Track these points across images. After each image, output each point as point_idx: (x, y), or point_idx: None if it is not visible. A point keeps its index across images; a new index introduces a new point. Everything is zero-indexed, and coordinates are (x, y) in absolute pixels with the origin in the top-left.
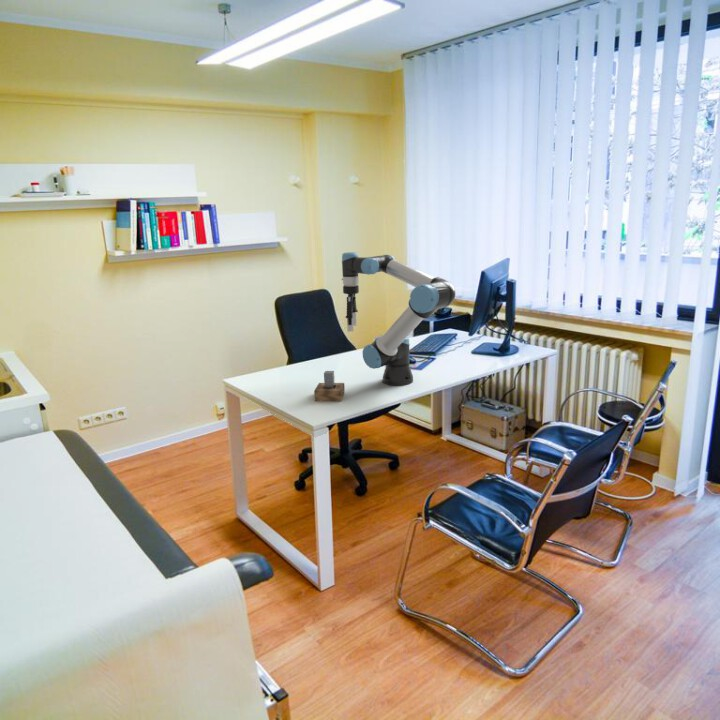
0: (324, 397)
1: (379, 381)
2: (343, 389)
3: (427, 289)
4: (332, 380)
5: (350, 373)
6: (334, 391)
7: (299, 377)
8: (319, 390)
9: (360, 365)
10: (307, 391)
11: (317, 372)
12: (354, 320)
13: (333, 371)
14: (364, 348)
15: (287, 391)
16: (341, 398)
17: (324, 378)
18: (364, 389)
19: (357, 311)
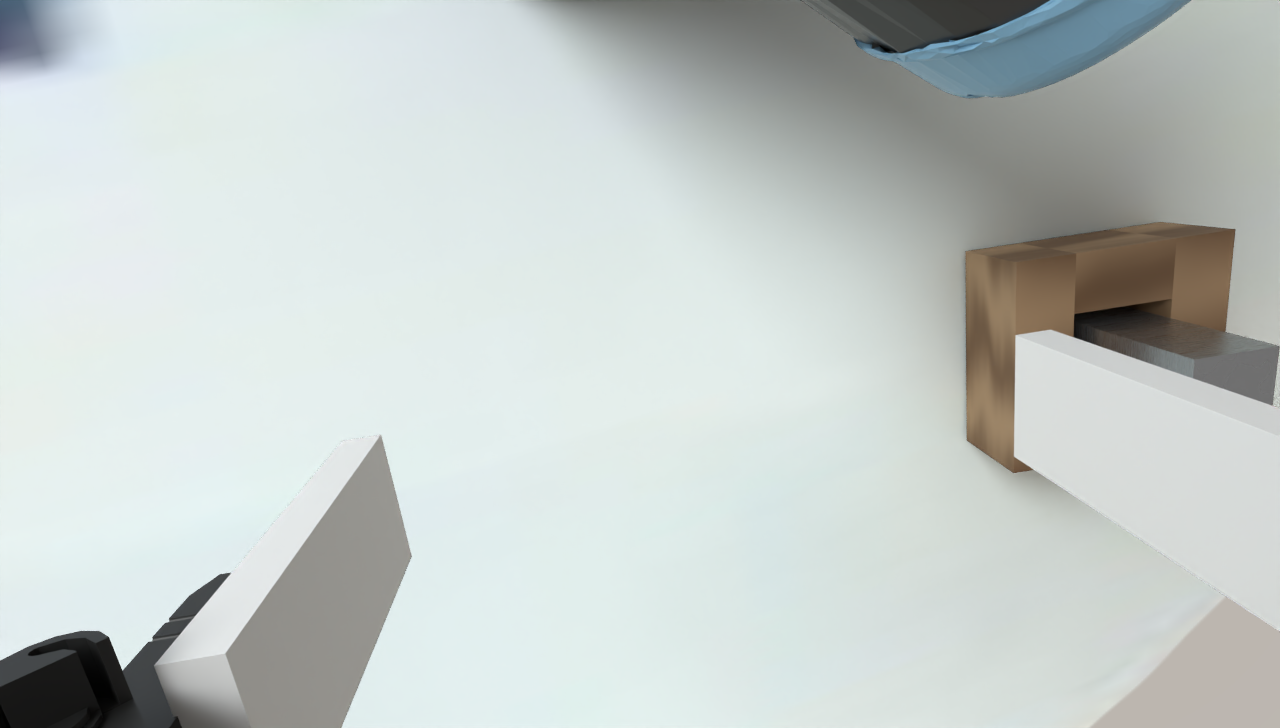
0: None
1: (600, 18)
2: (1051, 248)
3: None
4: (1213, 333)
5: (400, 360)
6: (1225, 281)
7: (597, 705)
8: None
9: (99, 341)
10: (924, 534)
11: (436, 631)
12: (351, 544)
13: (1214, 357)
14: (1154, 26)
15: (930, 657)
16: (1148, 226)
17: None
18: (850, 110)
19: (57, 653)
